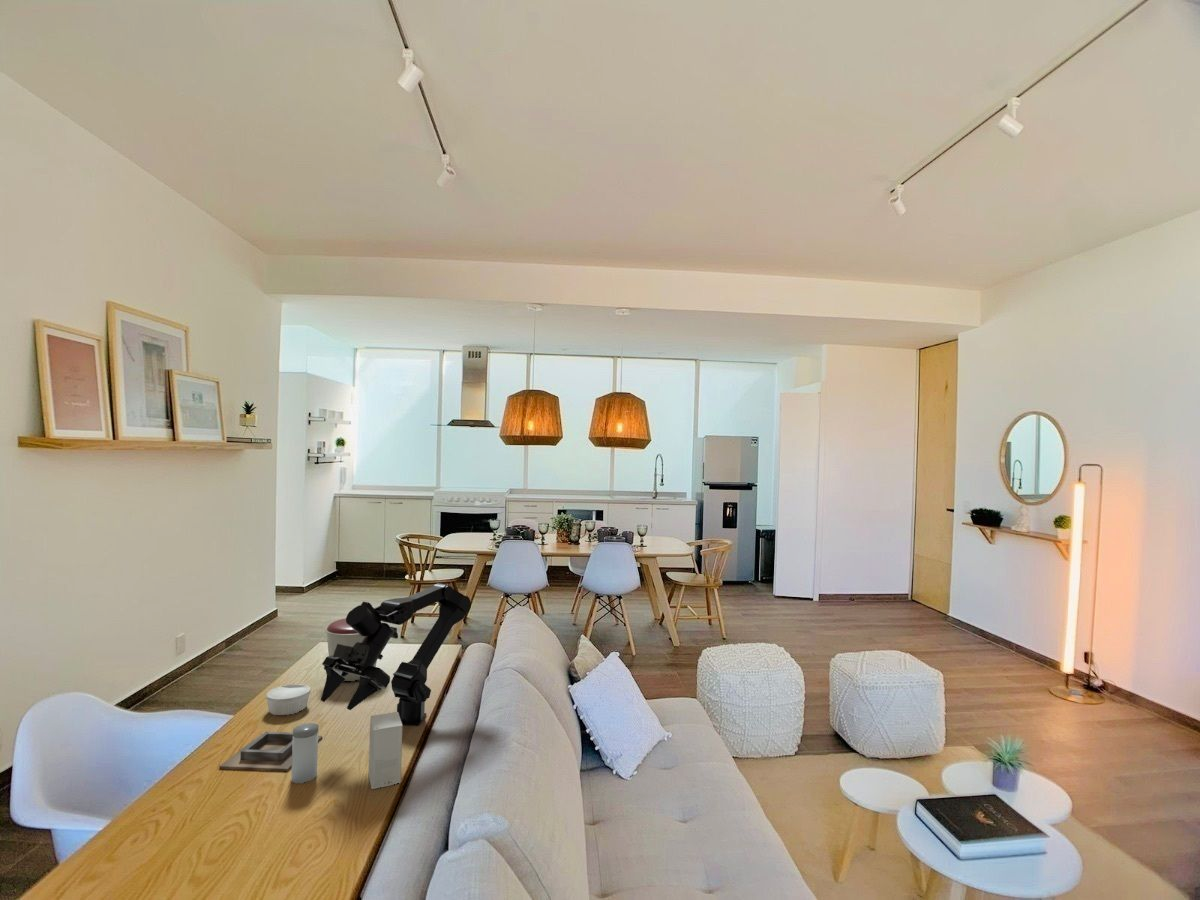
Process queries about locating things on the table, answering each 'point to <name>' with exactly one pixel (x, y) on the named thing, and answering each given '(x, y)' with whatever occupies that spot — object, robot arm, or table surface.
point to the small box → (385, 750)
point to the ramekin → (288, 699)
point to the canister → (342, 640)
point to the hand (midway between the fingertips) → (335, 705)
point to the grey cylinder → (304, 753)
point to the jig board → (264, 753)
